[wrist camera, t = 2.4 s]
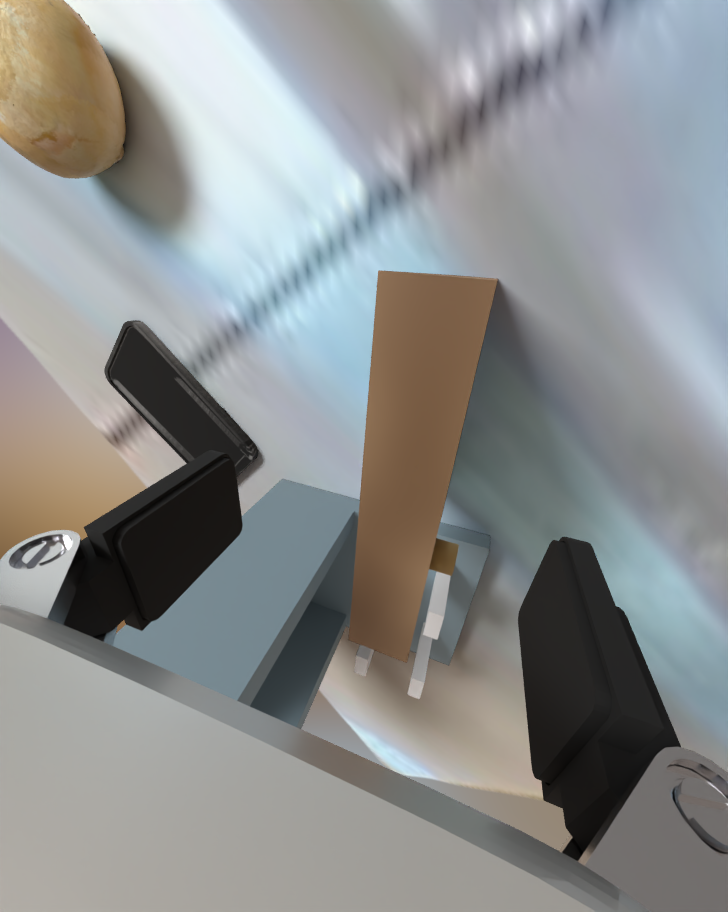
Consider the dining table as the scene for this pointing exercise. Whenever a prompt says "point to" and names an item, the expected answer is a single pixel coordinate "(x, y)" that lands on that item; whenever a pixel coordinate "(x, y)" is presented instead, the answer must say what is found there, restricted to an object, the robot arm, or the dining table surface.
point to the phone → (173, 398)
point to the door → (412, 445)
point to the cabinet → (294, 605)
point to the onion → (57, 90)
